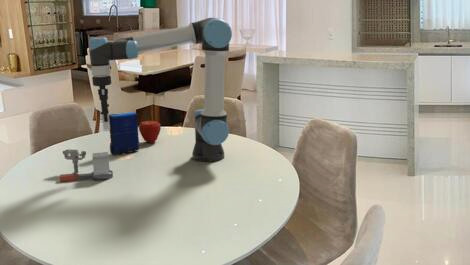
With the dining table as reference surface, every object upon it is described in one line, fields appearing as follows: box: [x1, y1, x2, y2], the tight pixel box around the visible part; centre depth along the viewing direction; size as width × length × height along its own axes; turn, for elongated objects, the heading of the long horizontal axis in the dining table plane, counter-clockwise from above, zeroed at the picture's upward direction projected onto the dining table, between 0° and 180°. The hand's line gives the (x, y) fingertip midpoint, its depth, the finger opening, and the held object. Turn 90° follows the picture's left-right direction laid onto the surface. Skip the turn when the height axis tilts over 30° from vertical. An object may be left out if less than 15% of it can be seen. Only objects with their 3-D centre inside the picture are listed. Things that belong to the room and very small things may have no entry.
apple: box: [138, 119, 162, 144], centre depth 292 cm, size 11×11×12 cm
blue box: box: [109, 111, 140, 156], centre depth 273 cm, size 14×5×20 cm, turn 122°
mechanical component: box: [62, 149, 87, 174], centre depth 245 cm, size 3×10×10 cm, turn 79°
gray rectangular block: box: [92, 151, 110, 176], centre depth 238 cm, size 6×6×8 cm
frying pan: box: [59, 169, 114, 183], centre depth 237 cm, size 22×9×8 cm, turn 103°
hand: (106, 125), depth 237 cm, fingers open, 13 cm apart
